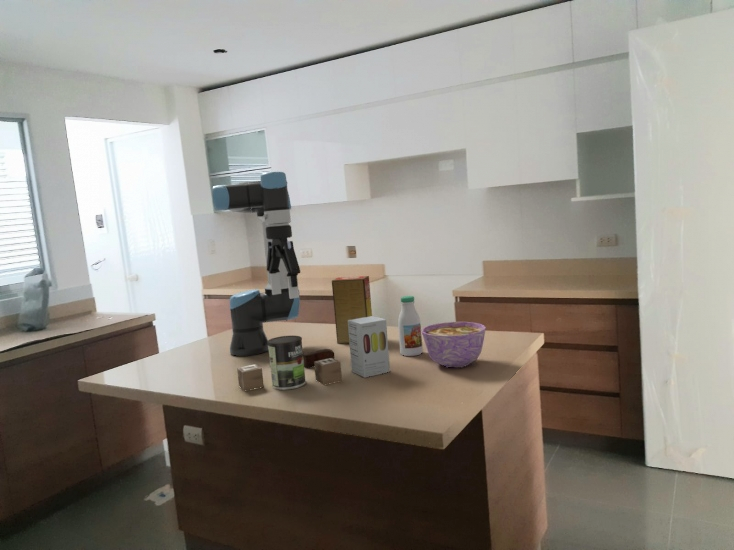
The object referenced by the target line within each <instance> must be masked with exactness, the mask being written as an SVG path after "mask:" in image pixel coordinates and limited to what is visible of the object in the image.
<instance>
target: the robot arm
mask: <svg viewBox="0 0 734 550" xmlns="http://www.w3.org/2000/svg"><path fill="white" fill-rule="evenodd" d="M286 174H287V173H285V172H284V171H269V172H264V173H261V175H260V180H256V181H244V182H243V181H241V182H239V183H235V184H220V185H214V186H213V187H212V188H211V195H212V205H213V207H214V210H216V211H231V212H236V213H243V214H251V213H256V216H257V219H258V220H260V221H261V226H262V235H263V244H264V245H263V246H264V253H265V254H264V255H265V256H264V257H265V264H266V274H267V285H265V286H264V292H261V291H260V290H259V289H258V288H257V289H249V290H244V291H242V292H241V291H240V292H238V293H235V294H233V295H231V296H230V298H229V311H230V319H231V328H232V329H231V330H232V337H231V341H230V345H229V354H230V355H231V356H234V355H236V357H245V356H246V357H247V356H254V355H260V354H262V353H266V352H269V348H268V343H267V341H268V340H269V339H268V337H267V335H266V333H265V331H264V323H273V322H281V321H282V322H283V321H290V320H294V319H297V318H298V317H299V312H300V300H301V298H300V289H299V281H298V275H299V274H301V268H300V265H299V262H298V258H297V255H296V252H295V249H294V247H295V246H294V241H293V240H288V239H289V238H292V237H293V232H292V226H291V223H292V220H291V210H292V204H291V200H290V194H289V191H288V180H287V175H286Z"/></svg>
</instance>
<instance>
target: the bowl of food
mask: <svg viewBox="0 0 734 550" xmlns="http://www.w3.org/2000/svg"><path fill="white" fill-rule="evenodd" d="M486 329H487V327H486V326H485V325H484V324H481V323H479V322H472V321H471V322H469V321H448V322H440V323H438V322H437V323H434V324H429V325H427V326H423V328H421V336H422V339H423V340H424V345H425V347H426V350H427V353H428V356H429V358H431V360H432V361H433V362H435V363H437V364H439V365H442V366H443V365H444V366H446V367H445V368H448V367H461V368H464V367H463V366H465V367H467V366H468V365H470V364H472V363H473V362H475V361H476V360H478V358H479V357H480V355H481V354H482V350H483V345H484V341H485V335H486ZM466 365H467V366H466ZM444 366H443V367H444Z"/></svg>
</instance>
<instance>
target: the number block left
mask: <svg viewBox="0 0 734 550" xmlns="http://www.w3.org/2000/svg"><path fill="white" fill-rule="evenodd" d="M236 369H237V371H236V372H237V379H238V387H239V386H240V387H241V388H242V389H243V390H244V391H245V390H250V389H254V388H258V389H261V388H260V387H263V388H264V387H265V384H264V376H263V369H262V367H261V366H259V365H258V363H254V364H250V365H245V366H240V367H237V368H236ZM240 387H239V388H240ZM241 388H240V389H241ZM242 389H241V390H242ZM243 390H242V391H243ZM254 390H255V389H254ZM244 391H243V392H244ZM250 391H251V390H250ZM245 392H246V391H245Z"/></svg>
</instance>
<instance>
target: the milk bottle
mask: <svg viewBox="0 0 734 550" xmlns="http://www.w3.org/2000/svg"><path fill="white" fill-rule="evenodd" d="M400 304H401V308H400V309H401V311H400V312H399V316H398V320H397V321H398V322H397V323H398V324H397V325H398V338H399V339H398V340H399V342H398V343H399V353H400V355H401V356H403V355H404V357H414V356H419V355H422V354H423V350H424V349H423V335H422V331H421V330H422V326H421V319H420V316H419V313H418V312H417V310H416V309H417V308H416V307H415V296H413V295H406V296H405V295H404V296H401V297H400ZM421 353H422V354H421Z"/></svg>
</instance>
